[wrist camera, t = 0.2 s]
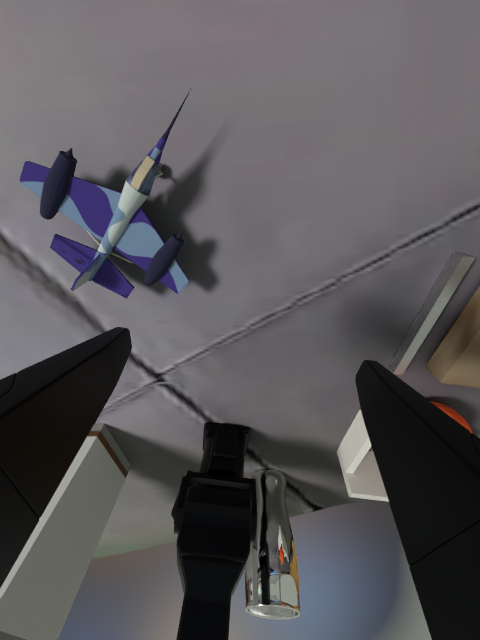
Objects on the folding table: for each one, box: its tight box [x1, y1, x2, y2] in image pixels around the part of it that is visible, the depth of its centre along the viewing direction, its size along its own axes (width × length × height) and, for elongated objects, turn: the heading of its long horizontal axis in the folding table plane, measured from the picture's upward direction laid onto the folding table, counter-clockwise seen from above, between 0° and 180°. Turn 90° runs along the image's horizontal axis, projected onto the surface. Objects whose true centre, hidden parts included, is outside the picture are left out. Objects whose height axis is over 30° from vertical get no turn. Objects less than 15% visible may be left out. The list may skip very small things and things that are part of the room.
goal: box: [337, 409, 389, 502], centre depth 32 cm, size 10×13×6 cm
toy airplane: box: [20, 89, 191, 298], centre depth 20 cm, size 13×14×4 cm
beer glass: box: [245, 469, 301, 619], centre depth 36 cm, size 7×7×15 cm
